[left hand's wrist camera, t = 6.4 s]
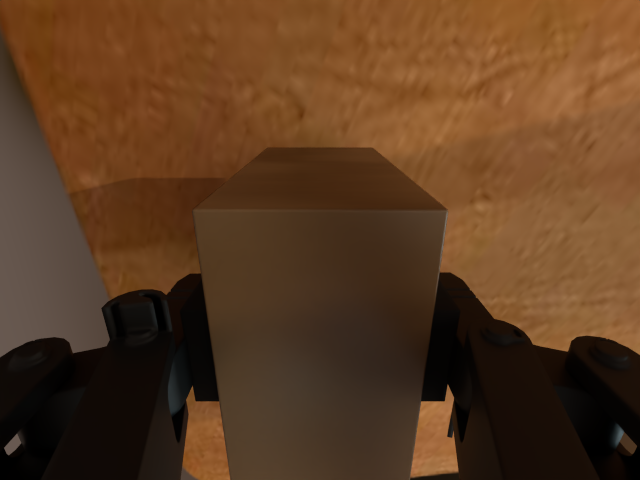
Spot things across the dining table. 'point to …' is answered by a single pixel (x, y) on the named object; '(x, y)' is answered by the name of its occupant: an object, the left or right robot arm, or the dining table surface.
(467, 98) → the dining table surface
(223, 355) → the brick
